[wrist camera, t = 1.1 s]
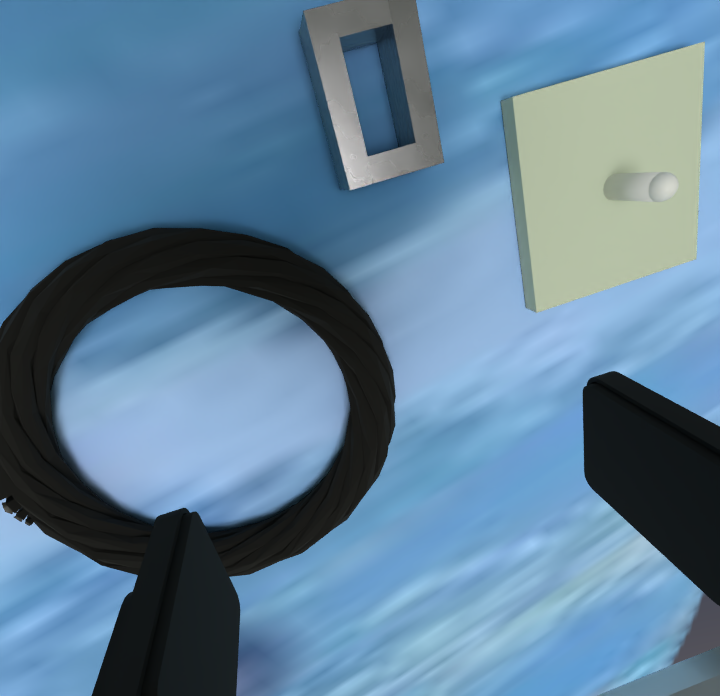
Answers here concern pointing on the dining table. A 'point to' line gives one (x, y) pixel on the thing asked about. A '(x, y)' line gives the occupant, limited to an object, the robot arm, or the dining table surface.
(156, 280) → the cable lock
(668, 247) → the keeper board
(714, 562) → the robot arm
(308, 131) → the dining table surface
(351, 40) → the grey rectangular frame
